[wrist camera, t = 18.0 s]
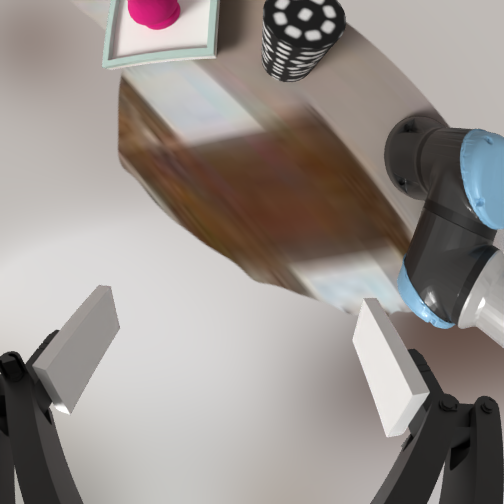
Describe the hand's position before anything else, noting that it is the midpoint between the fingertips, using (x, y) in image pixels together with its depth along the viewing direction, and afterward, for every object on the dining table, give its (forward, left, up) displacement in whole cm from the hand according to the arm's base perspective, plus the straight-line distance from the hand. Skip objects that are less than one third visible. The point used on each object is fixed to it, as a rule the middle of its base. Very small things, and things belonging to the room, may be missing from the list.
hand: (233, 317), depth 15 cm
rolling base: (+15, -30, -37) cm, 50 cm away
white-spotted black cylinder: (-5, -22, -37) cm, 43 cm away
